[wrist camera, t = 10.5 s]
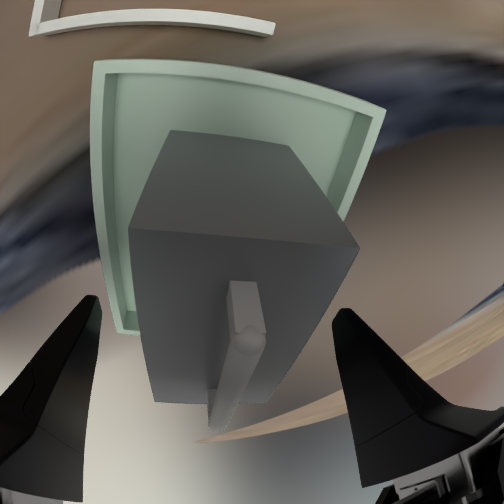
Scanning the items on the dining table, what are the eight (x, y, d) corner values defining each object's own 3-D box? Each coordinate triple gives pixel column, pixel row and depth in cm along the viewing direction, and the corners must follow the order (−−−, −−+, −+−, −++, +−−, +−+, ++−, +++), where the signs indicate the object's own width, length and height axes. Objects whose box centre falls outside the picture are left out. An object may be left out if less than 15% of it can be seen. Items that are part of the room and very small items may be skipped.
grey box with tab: (163, 286, 16) (154, 438, 9) (170, 129, 10) (105, 296, 4) (247, 292, 17) (272, 436, 10) (289, 145, 12) (393, 305, 5)
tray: (122, 308, 17) (117, 333, 16) (112, 58, 8) (93, 61, 7) (280, 317, 20) (285, 340, 18) (364, 99, 11) (386, 110, 9)
